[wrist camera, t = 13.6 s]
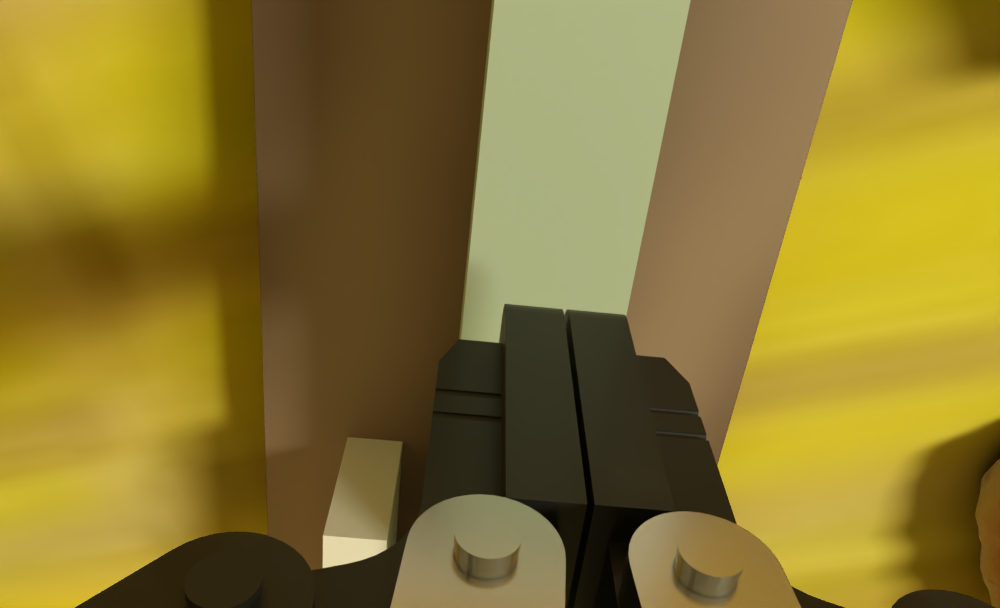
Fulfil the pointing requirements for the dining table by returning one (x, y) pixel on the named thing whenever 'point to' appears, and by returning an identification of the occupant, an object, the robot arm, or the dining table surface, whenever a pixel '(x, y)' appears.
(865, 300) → the dining table surface
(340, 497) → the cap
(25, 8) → the dining table surface
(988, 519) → the pastry
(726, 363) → the board
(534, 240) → the slat
